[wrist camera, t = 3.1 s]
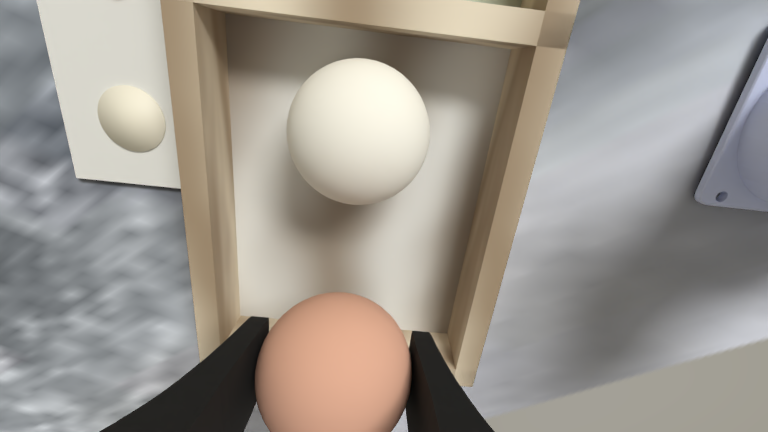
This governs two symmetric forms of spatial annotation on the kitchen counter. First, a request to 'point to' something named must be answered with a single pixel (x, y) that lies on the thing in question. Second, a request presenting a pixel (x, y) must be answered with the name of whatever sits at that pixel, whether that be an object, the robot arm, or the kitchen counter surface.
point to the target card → (113, 88)
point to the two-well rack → (372, 221)
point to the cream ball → (358, 131)
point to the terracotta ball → (333, 367)
